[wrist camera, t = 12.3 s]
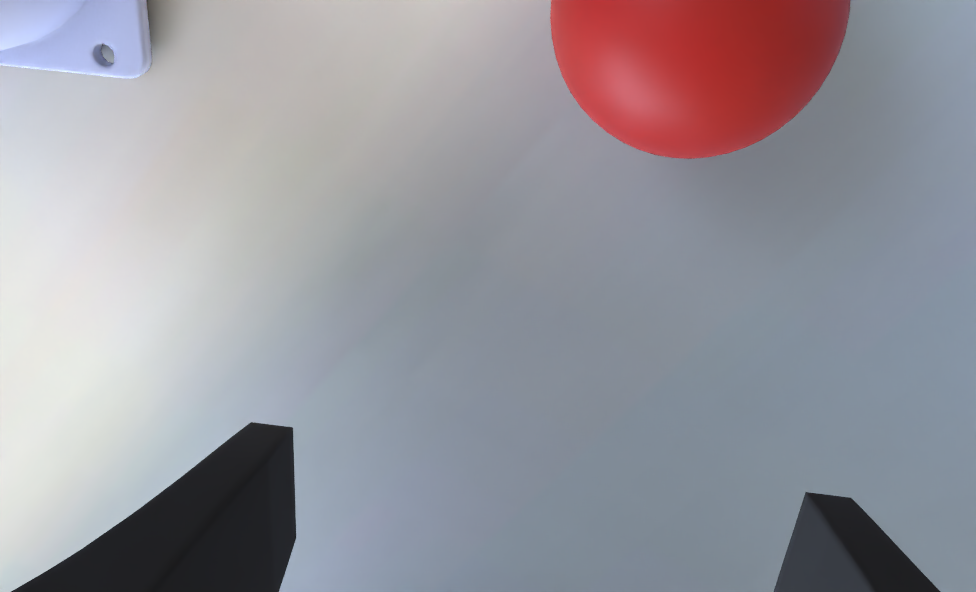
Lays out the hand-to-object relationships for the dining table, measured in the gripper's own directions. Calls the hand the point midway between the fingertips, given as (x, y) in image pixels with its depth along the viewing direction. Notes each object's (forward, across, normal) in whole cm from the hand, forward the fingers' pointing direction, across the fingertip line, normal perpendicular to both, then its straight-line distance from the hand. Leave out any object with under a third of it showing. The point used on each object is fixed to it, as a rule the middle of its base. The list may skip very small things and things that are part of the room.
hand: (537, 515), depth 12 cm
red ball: (+10, -2, -6) cm, 12 cm away
